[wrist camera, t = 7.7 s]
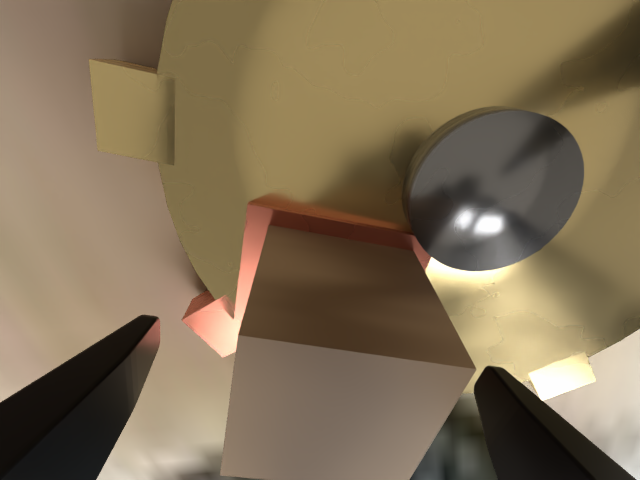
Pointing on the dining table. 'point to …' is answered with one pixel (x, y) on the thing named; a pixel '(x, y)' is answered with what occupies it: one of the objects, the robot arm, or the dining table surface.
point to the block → (340, 363)
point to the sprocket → (406, 157)
